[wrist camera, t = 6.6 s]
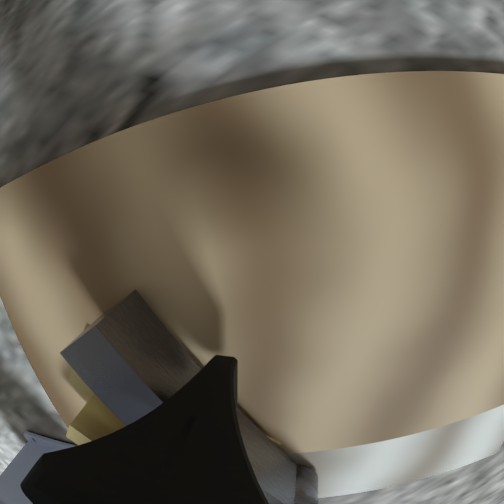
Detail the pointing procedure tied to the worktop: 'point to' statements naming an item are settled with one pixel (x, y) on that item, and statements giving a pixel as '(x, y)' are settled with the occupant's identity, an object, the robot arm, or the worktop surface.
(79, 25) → the worktop surface
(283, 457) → the swing bar
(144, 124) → the door board
